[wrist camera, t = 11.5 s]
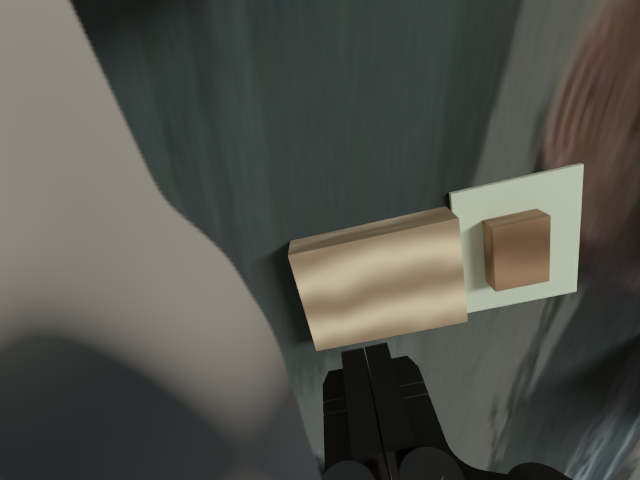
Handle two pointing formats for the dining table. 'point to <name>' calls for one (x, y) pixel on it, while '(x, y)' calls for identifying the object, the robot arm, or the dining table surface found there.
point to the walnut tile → (517, 249)
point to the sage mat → (512, 197)
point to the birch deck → (381, 278)
